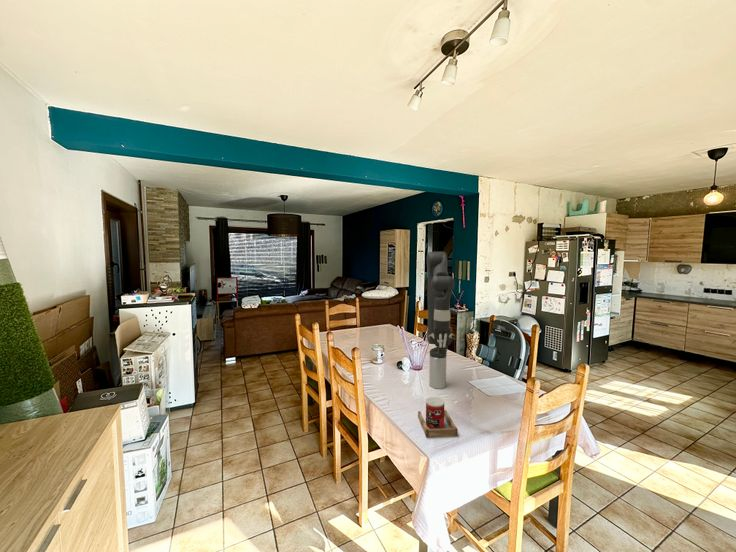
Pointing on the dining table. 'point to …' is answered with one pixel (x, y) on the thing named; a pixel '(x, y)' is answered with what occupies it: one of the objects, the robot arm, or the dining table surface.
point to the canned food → (435, 413)
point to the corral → (439, 432)
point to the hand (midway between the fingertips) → (441, 354)
